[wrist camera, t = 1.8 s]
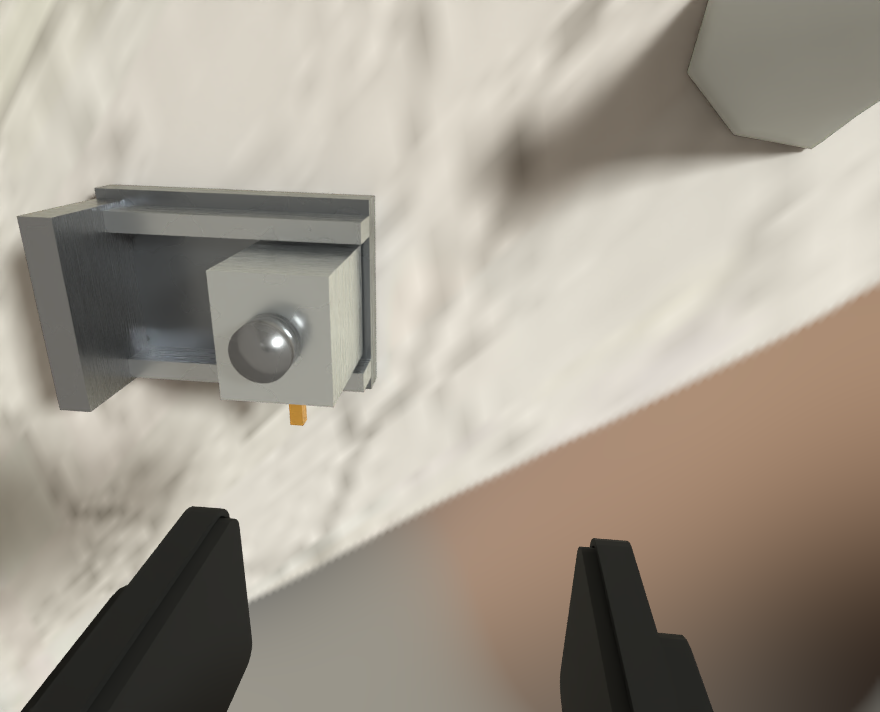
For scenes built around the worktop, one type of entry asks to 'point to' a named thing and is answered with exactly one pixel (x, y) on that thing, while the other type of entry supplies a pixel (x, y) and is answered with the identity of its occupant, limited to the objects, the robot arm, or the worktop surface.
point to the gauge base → (167, 278)
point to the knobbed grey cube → (287, 323)
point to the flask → (788, 66)
